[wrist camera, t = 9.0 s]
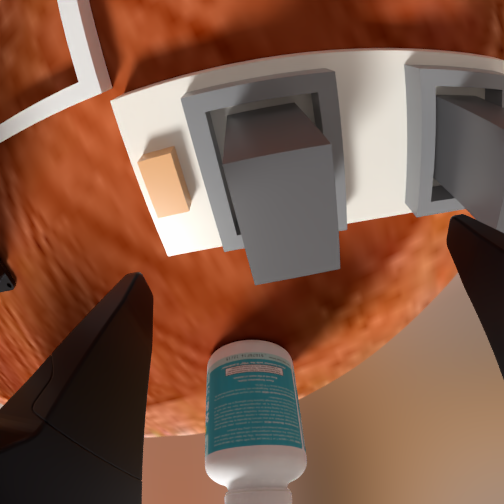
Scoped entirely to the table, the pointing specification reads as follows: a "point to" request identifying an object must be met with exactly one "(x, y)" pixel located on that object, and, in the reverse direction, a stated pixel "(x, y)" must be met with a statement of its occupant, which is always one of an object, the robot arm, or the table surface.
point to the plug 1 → (282, 192)
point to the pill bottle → (253, 423)
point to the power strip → (320, 113)
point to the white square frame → (85, 63)
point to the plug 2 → (471, 155)
